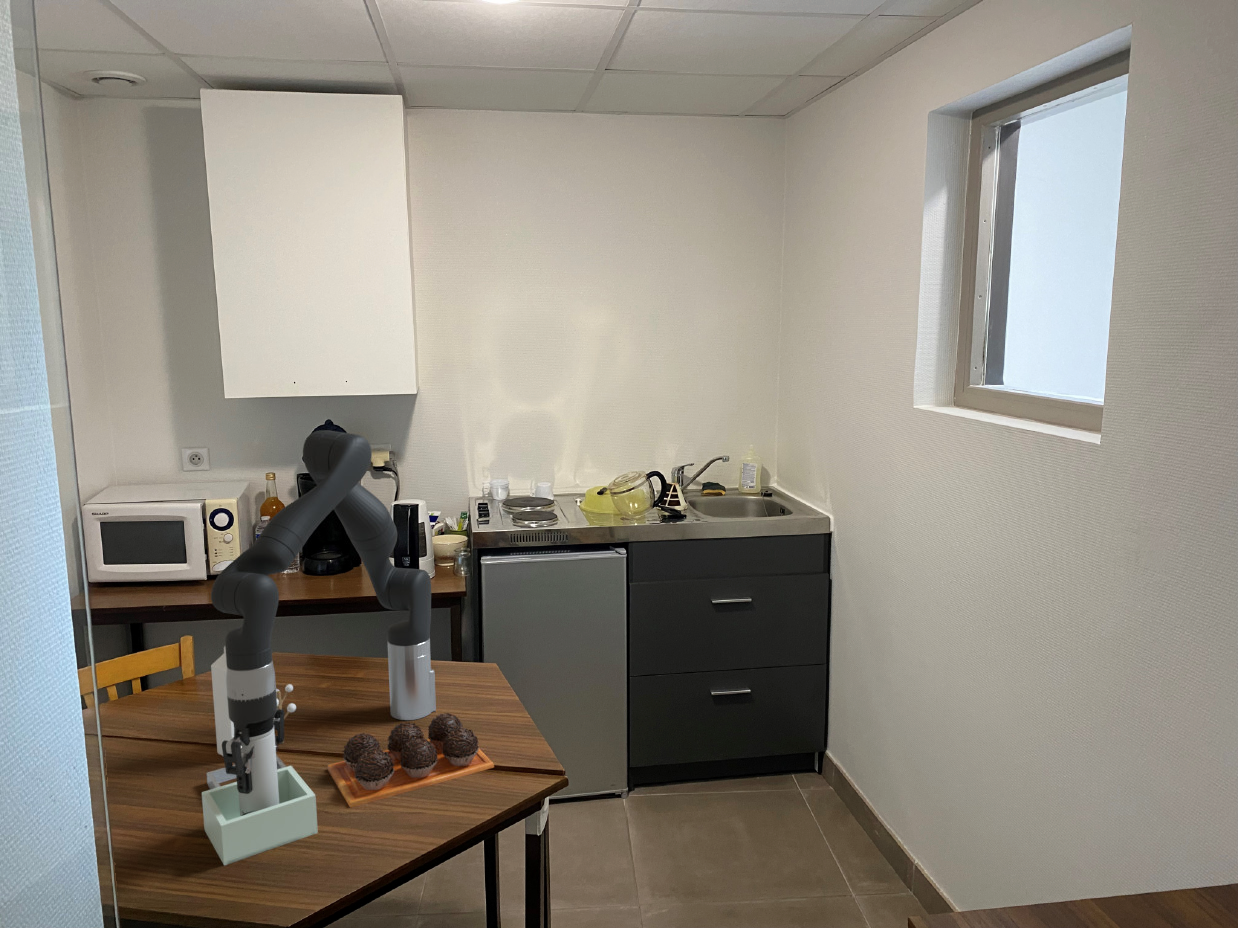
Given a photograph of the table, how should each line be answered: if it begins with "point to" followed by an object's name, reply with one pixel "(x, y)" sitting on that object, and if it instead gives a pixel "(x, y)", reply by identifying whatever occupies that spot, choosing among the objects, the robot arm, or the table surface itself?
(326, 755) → the table surface
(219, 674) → the milk
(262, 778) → the travel mug
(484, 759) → the chocolate truffle
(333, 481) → the robot arm
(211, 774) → the collar
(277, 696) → the cotton branch
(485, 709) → the table surface
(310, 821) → the bin
